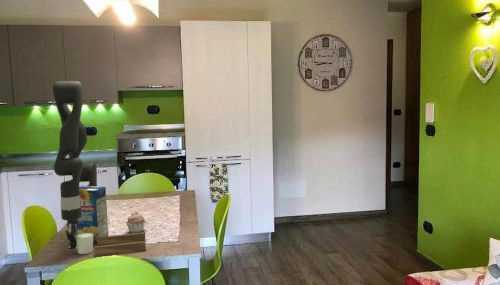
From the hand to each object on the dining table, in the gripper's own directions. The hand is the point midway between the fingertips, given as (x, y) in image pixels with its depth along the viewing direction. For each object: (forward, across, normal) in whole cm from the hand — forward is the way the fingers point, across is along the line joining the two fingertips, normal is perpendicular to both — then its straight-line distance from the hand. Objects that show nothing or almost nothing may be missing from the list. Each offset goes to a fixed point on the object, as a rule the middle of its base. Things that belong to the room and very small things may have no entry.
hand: (73, 248), depth 163 cm
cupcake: (+2, -21, +24) cm, 32 cm away
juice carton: (+2, -14, +5) cm, 15 cm away
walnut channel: (+2, -1, +19) cm, 19 cm away
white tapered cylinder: (+2, 0, +4) cm, 5 cm away
